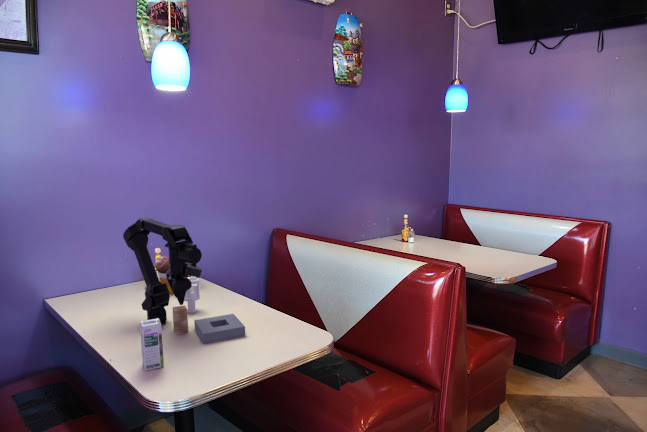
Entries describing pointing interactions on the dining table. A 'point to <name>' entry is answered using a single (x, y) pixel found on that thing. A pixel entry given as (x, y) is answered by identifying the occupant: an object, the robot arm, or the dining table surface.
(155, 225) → the robot arm
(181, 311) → the oak peg
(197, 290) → the windowed cylinder housing
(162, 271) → the bucket of meat
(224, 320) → the socket block
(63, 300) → the dining table surface
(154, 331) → the syrup box
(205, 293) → the dining table surface
